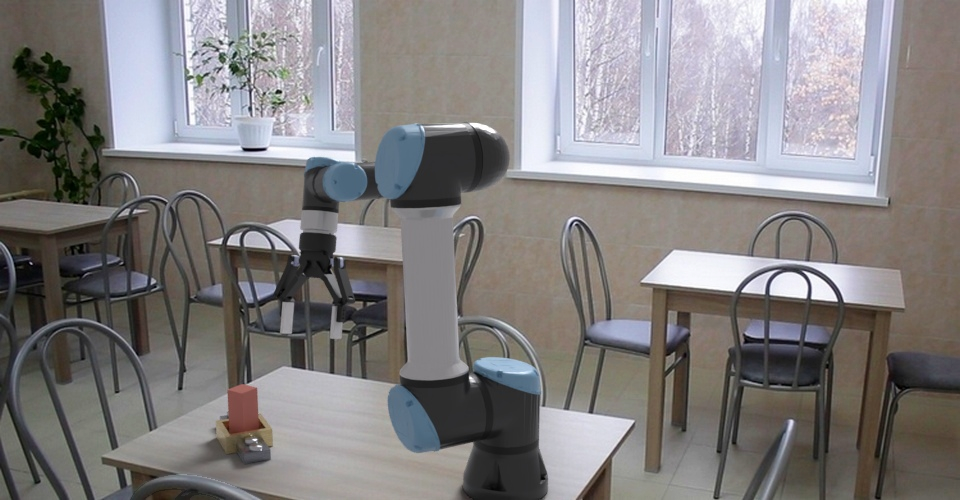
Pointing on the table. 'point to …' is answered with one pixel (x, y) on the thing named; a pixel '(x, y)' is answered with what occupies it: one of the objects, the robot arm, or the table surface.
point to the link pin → (243, 409)
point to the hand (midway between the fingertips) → (310, 336)
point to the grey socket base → (246, 440)
